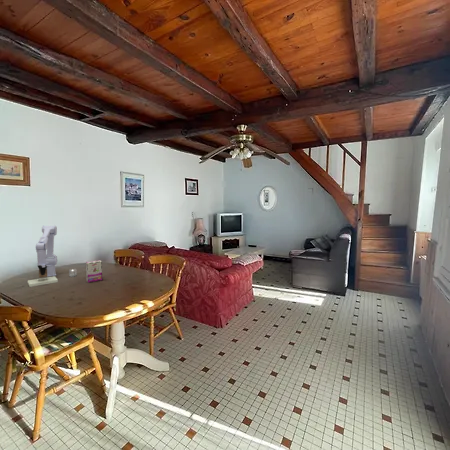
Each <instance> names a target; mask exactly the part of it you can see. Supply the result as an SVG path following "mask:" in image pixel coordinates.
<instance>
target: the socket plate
mask: <svg viewBox="0 0 450 450" xmlns="http://www.w3.org/2000/svg"><path fill="white" fill-rule="evenodd" d="M58 282H59V280H58V278H57V277H56V275H55V276H49V277H41V278H35V279H28V280H27V284H28V286H29V287H30V288H32V287H37V286H43V285H47V284H48V285H49V284H56V283H58Z"/></svg>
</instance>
